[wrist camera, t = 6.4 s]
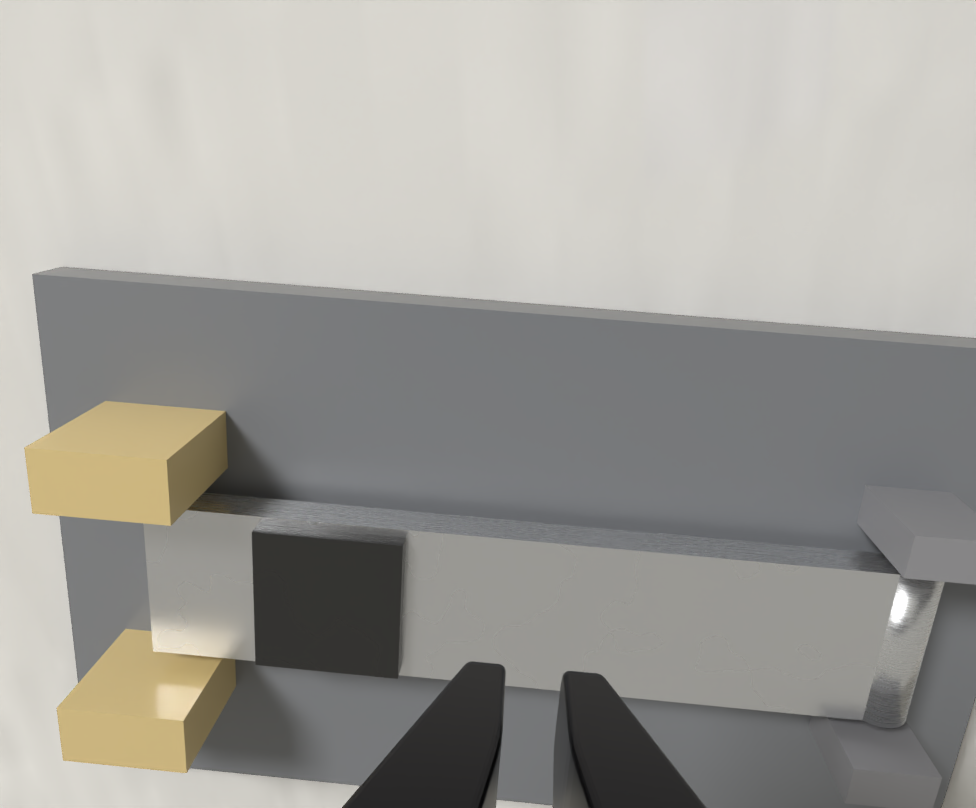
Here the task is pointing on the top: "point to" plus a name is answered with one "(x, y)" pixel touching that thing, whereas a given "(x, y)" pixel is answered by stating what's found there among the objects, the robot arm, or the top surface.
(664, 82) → the top surface
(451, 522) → the strap
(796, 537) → the hinge plate
